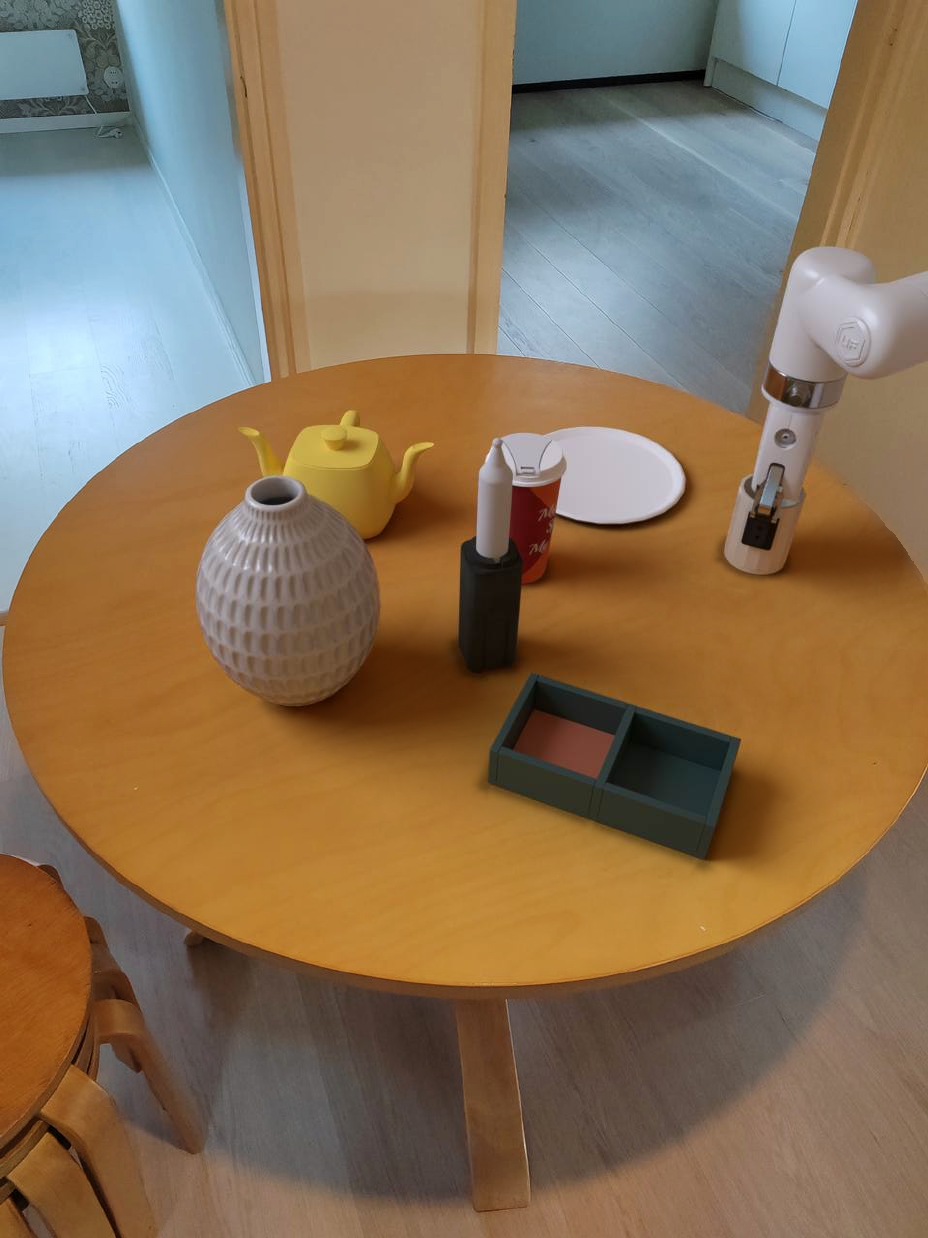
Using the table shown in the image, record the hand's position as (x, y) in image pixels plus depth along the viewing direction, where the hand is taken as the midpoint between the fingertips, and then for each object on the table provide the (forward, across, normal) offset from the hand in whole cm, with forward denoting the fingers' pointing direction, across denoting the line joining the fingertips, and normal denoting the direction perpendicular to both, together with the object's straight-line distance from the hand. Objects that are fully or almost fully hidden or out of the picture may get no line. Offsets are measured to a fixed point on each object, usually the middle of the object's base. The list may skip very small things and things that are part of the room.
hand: (762, 525), depth 108 cm
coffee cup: (+4, -13, +24) cm, 27 cm away
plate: (+4, +7, +20) cm, 22 cm away
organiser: (+4, -37, +6) cm, 38 cm away
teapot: (+4, -11, +46) cm, 48 cm away
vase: (+4, -38, +36) cm, 53 cm away
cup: (+4, 0, 0) cm, 4 cm away
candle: (+4, -27, +22) cm, 35 cm away
